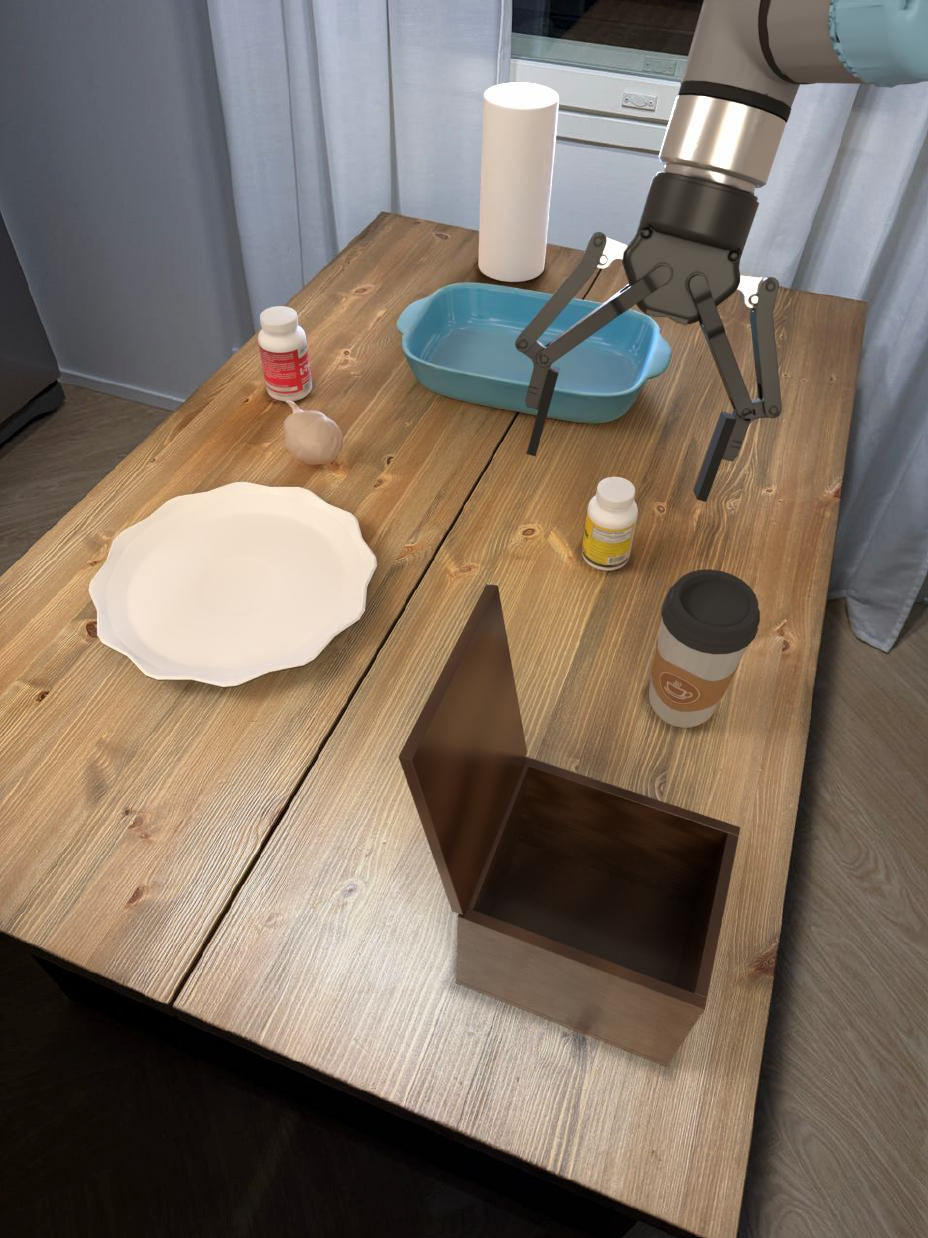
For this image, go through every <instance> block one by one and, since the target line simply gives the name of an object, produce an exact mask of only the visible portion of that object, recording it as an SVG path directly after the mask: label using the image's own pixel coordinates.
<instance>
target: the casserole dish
mask: <svg viewBox="0 0 928 1238" xmlns="http://www.w3.org/2000/svg"><path fill="white" fill-rule="evenodd" d="M552 295H553V294H552V293H546V292H540V291H535V290H529V289H523V288H519V287H514V286H513V287H512V286H507V285H506V286H505V285H498V284H493V283H483V282H455V283H452V284H448V285H444V286H442V287H440V288H438V289H437V290H436V291H434V292H433V293H431V294H430V295H428V296H426V297H423V298H420V299H418V300H416V301H413V302H412V303H410V304H409V305H408V306H406V307H405V309H404V310H403V311H402V312H401V314H400V315H399V317H398V319H397V322H396V328H397V331H398V332H399V333H400V334H401V335H402V337H401V349H402V352H403V354H404V357H405V358H406V361H407V363H408V365H409V368H410V370H411V372H412V374H413V376H414V377H415V379H416V380H417V381H418V382H419V383H420V385H422V386H423V387H424V388H425V389H427V390H429V391H430V392H432V393H434V394H437V395H440V396H443V397H445V398H448V399H453V400H458V401H461V402H466V403H469V404H475V405H479V406H485V407H488V408H495V409H499V410H504V411H513V412H517V413H520V414H521V413H522V414H525V415H526V414H527V415H532V416H537V412H538V410H536V409H532V408H529V407H526V402H525V399H526V395H527V391H528V388H529V384H530V380H531V376H532V372H533V368H534V365H533V362H532V360H531V359H530V358H529V357H528V356H526V355H525V354H523V353H522V352H519V351H518V350H517V349H516V346H515V342H516V340H517V338H518V336H519V335H520V334H521V333H522V331H523V330H524V329H525V328H526V327H527V325H528V324H529V323H530V322H531V321H532V319H533V318H534V317H535V316H536V315H537V313H538V312H539V311H540V310H541V309H542V307H543V306H544V305H545V304H546V303H547V301H548V300H549V299H550V298H551V297H552ZM603 303H604V302H599V301H592V300H587V299H581V298H575V297H573V299H572V300H571V301H570V302H569V303H568V304H567V306H566V307H565V308H564V309H563V310H562V312H561V313H560V314H559V315H558V316H557V317H556V319H555V320H554V321H553V322H552V323H551V325H550V326H549V327H548V328H547V329H546V330H545V332H544V333H543V334H542V335H541V336H540V338H539V339H538V341H539V342H541V343H542V344H543V345H547V344H548V343H549V342H551V341H552V340H553V339H555V338H556V337H558V336H559V335H560V334H562V333H563V332H564V331H566V330H567V329H569V328H570V327H571V326H573V325H574V324H575V323H577V322H578V321H580V320H581V319H582V318H584V317H585V316H586V315H588V314H589V313H591V312H592V311H593V310H595V309H596V308H597V307H599V306H600V305H602V304H603ZM671 360H672V348H671V345H670V343H668V341H667V340H666V339H665V338H663V336H662V333H661V328H660V327H659V324H658V323H657V322H656V321H655V320H654V319H653V318H652V317H651V316H649V315H645V314H644V313H643V312H640V311H637V310H634V309H632V308H630V309H629V310H627V311H626V312H624V313H623V314H621V315H619V316H618V317H616V318H615V319H614V320H612V321H611V322H609V323H608V324H607V325H605V326H604V327H602V328H601V329H600V330H598V331H597V332H595V333H594V334H593V335H591V336H590V337H589V338H587V339H586V340H584V341H583V342H582V343H580V344H579V345H577V346H576V347H575V348H573V349H572V350H570V351H569V352H568V353H566V354H565V355H563V356H562V357H561V358H559V359H558V360H556V361H555V362H554V363H552V364H551V366H554V367H558V368H560V369H559V374H558V378H557V381H556V385H555V388H554V392H553V396H552V399H551V403H550V406H549V410H548V414H547V417H546V418H548V419H553V420H554V419H555V420H560V421H565V422H572V423H578V424H579V423H580V424H593V425H594V424H595V425H596V424H605V423H609V422H612V421H615V420H617V419H619V418H621V417H622V416H623V415H625V414H626V413H627V412H628V411H629V410H630V409H631V407H632V406H633V404H634V403H635V401H636V400H637V398H638V396H639V395H640V392H641V390H642V388H643V387H644V385H645V383H646V382H647V381H648V380H650V379H654V378H656V377H658V376H660V375H662V374H664V373H665V372H666V370H667V369H668V368H669V365H670V363H671Z"/></svg>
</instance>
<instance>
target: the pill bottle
mask: <svg viewBox="0 0 928 1238" xmlns="http://www.w3.org/2000/svg"><path fill="white" fill-rule="evenodd" d="M259 321H260V327H261V329H260V330H259V332H258V335H257V343H258V350H259V354H260V360H261V366H262V372H263V377H264V382H265V388H266V392H267V394H268V395H269V396H270V397H271V398H272V399H274V400H277V401H280V402H288V401H287V400H290V401H293V402H295V401H299V400H302V399H304V398H306V397H307V396H308V395H309V394H310V393H311V391H312V389H313V379H312V372H311V371H312V370H311V365H310V364H311V363H310V357H309V348H308V342H307V335H306V332H305V330H304V329H303V327H301V325H299V317H298V313H297V311H296V310H295V309H293V308H292V307H290V306H283V305H277V306H271V307H268V308H265V309H264V310H263V311H261V313H260V315H259Z"/></svg>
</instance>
